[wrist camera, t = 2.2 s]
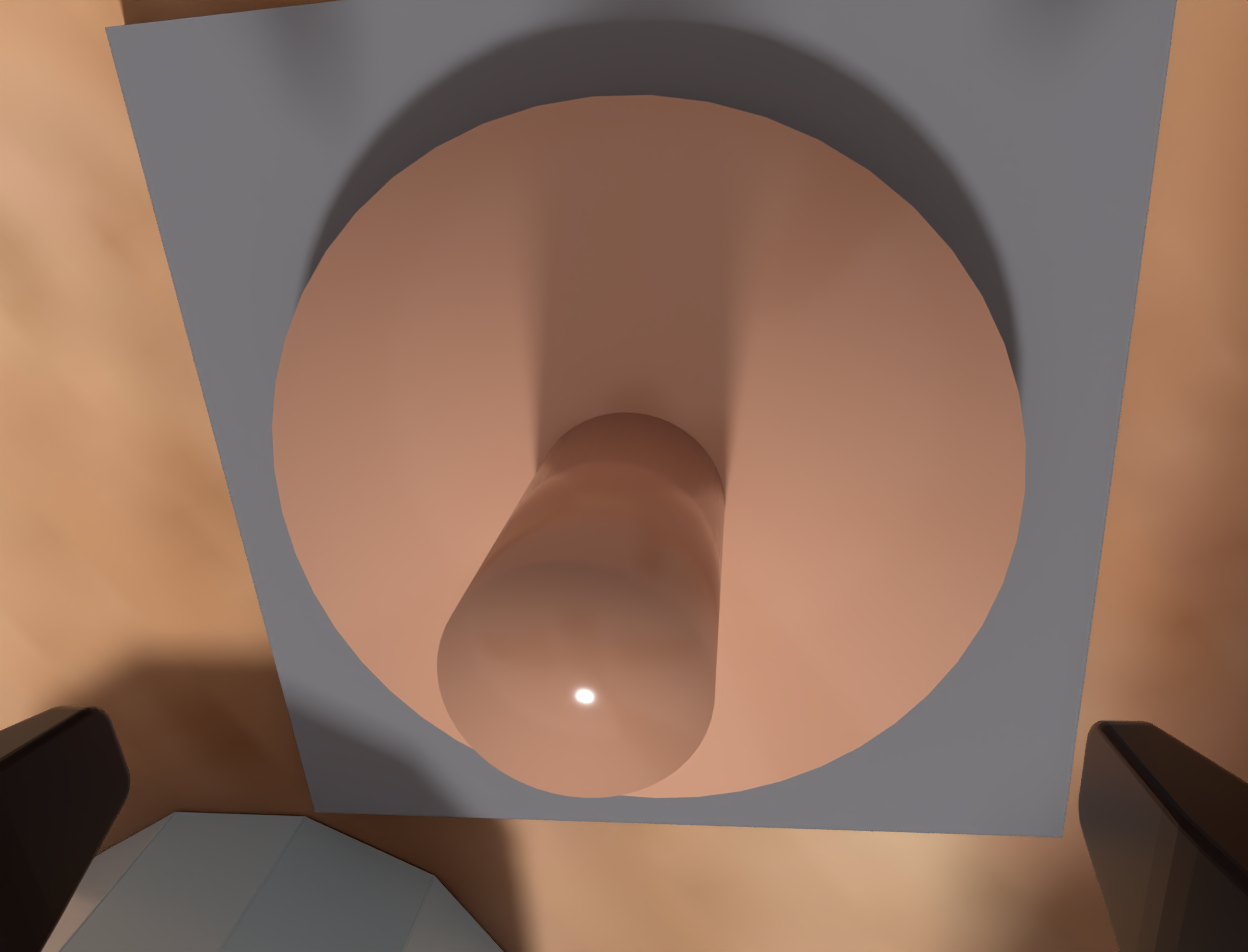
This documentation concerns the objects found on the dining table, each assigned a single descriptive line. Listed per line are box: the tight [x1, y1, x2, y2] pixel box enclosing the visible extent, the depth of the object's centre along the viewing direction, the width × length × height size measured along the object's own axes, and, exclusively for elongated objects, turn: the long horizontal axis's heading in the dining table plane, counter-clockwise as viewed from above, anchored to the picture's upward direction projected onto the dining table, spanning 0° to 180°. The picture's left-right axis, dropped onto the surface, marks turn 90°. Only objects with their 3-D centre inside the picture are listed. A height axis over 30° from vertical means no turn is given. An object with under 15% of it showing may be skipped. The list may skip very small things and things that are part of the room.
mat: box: [105, 0, 1177, 837], centre depth 14 cm, size 14×14×1 cm
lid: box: [272, 95, 1026, 798], centre depth 11 cm, size 11×11×6 cm
